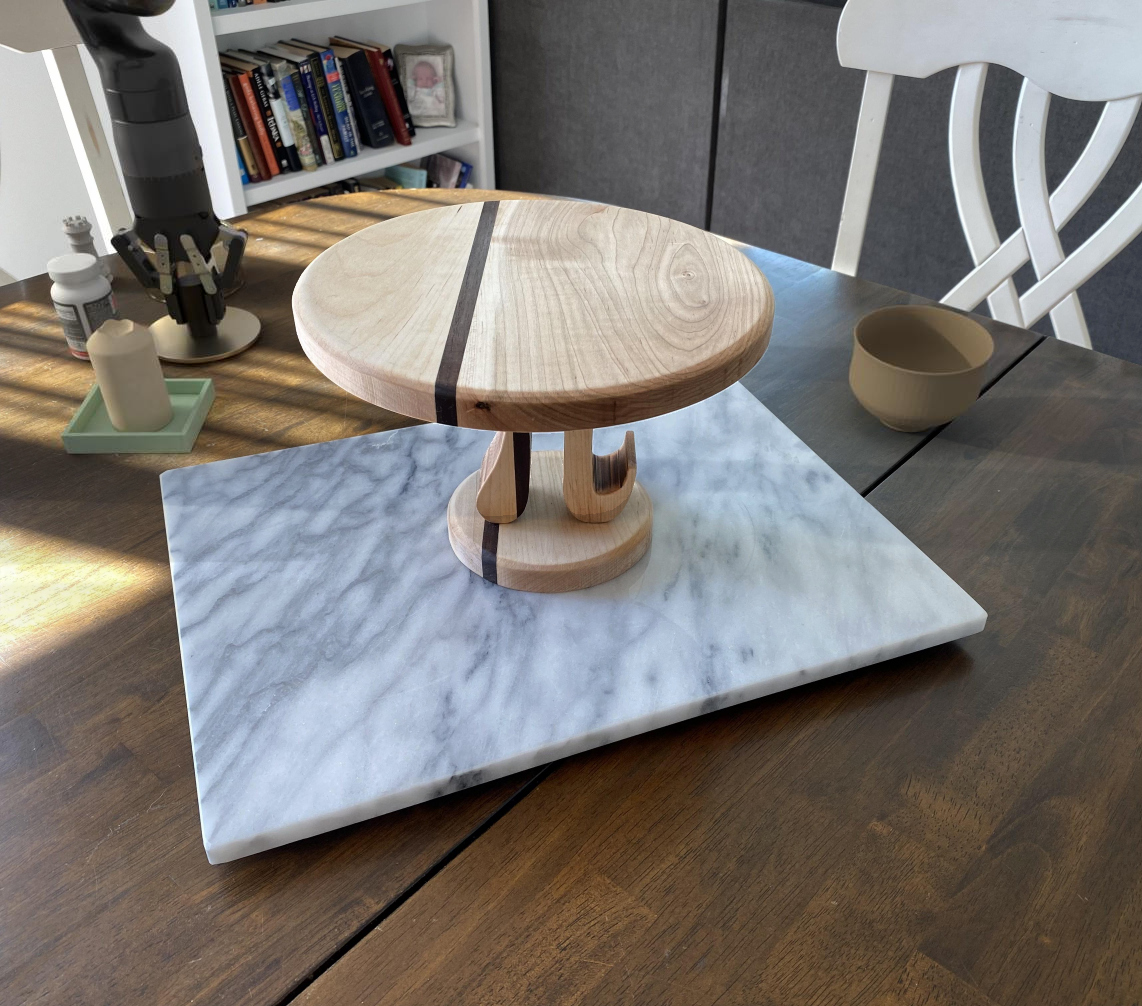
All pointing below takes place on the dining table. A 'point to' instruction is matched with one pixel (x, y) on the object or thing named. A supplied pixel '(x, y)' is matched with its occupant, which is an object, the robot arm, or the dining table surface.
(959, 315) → the bowl
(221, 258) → the pot
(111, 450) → the tray
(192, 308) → the lid
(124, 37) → the robot arm
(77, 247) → the rook chess piece
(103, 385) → the candle
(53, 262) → the pill bottle
